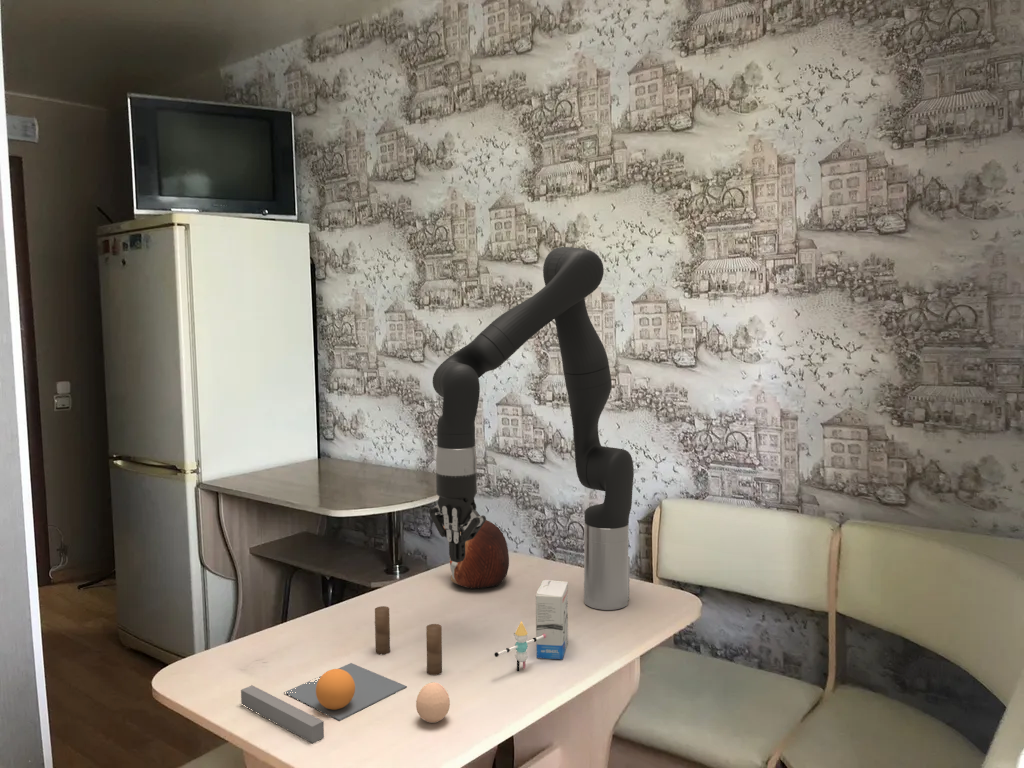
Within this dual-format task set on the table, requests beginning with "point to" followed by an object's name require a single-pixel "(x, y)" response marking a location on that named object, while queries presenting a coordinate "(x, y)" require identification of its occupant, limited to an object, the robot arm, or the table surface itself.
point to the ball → (335, 689)
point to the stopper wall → (283, 714)
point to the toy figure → (520, 645)
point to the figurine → (482, 559)
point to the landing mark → (366, 693)
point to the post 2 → (434, 649)
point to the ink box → (552, 619)
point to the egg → (432, 702)
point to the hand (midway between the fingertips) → (457, 560)
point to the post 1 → (382, 630)
